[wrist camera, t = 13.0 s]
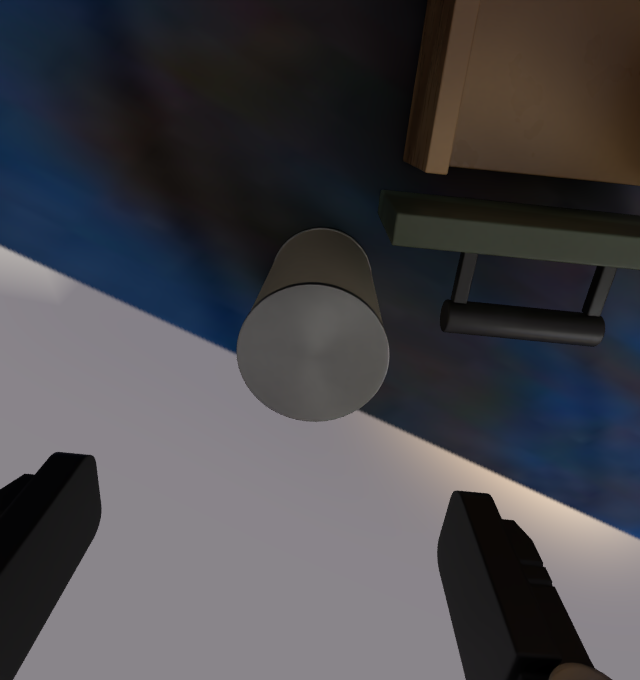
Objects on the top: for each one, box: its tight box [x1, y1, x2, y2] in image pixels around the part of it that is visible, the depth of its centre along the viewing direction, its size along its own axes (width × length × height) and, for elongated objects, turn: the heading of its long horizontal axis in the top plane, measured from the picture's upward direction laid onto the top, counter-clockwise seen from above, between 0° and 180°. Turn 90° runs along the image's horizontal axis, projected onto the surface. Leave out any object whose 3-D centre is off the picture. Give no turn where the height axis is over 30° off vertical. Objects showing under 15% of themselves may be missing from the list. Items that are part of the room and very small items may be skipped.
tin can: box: [237, 227, 389, 422], centre depth 21 cm, size 6×6×10 cm
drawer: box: [378, 0, 640, 347], centre depth 19 cm, size 17×14×7 cm
